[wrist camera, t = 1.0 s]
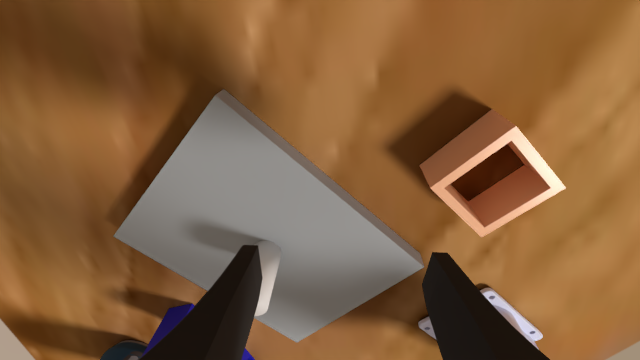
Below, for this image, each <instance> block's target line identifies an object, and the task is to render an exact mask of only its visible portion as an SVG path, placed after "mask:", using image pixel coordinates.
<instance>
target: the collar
mask: <svg viewBox="0 0 640 360" xmlns="http://www.w3.org/2000/svg"><path fill="white" fill-rule="evenodd" d="M506 144H508V145H509V147H510V148H511V149H512V150H513V151H514V153H515V154H516V155H517V156H518V157H519V159H520V160H521V161H522V162H523V163H524V164H525V165H523V166H522V167H520V168H519V169H517V170H516V171H514V172H513V173H511V174H510V175H508V176H507V177H505V178H503V179H502V180H500V181H499V182H497V183H496V184H494V185H493V186H491V187H490V188H488V189H487V190H485V191H484V192H482V193H481V194H479V195H478V196H476V197H474V198H473V199H471V200H470V201H467V200H466V199H465V198H464V197H463V196H462V195H461V194H460V193H459V192H458V191H457V190H456V189H455V188H454V187H453V186H452V185H451V183H452V182H453V181H455V180H456V179H458V178H459V177H460V176H462V175H463V174H465V173H466V172H468V171H469V170H470V169H472V168H473V167H475V166H476V165H478V164H479V163H480V162H482V161H483V160H485V159H486V158H487V157H489V156H490V155H492V154H493V153H495V152H496V151H497V150H499V149H500V148H502V147H503V146H505V145H506ZM419 166H420V168H421V170H422V172H423V174H424V176H425V178H426V180H427V182H428V185H429V187H430V188H431V189H432V190H433V191H434V192H435V193H436V194H437V195H438V196H439V197H440V198H441V199H442V200H443V201H444V202H445V203H446V204H447V205H448V206H449V207H450V208H451V209H452V210H454V211H455V212H456V213H457V214H458V215H459V216H460V217H461V218H462V219H463V220H464V221H465V222H466V223H467V224H468V225H469V226H470V227H471V228H472V229H473V230H474V231H475V232H476V233H477V234H478V235H480V236H481V237H483V236H485V235H486V234H488V233H490V232H492V231H493V230H495V229H497V228H498V227H500V226H502V225H504V224H505V223H507V222H509V221H510V220H512V219H514V218H516V217H517V216H519V215H521V214H522V213H524V212H526V211H527V210H529V209H531V208H533V207H534V206H536V205H538V204H539V203H541V202H543V201H545V200H546V199H548V198H550V197H551V196H553V195H555V194H557V193H558V192H560V191H562V190H563V189H565V188H566V187H565V186H564V185H563V184H562V182H561V181H560V180H559V179H558V177H557V176H556V175H555V174H554V172H553V171H552V170H551V169H550V167H549V166H548V165H547V164H546V162H545V161H544V160H543V159H542V157H541V156H540V155H539V154H538V152H537V151H536V150H535V149H534V148H533V146H532V145H531V144H530V143H529V141H528V140H527V139H526V138H525V136H524V135H523V134H522V133H521V131H520V130H519V129H518V128H517V126H515V125H514V124H513V123H511V122H510V121H508V120H507V119H506V118H504V117H503V116H501V115H500V114H498V113H497V112H496V111H494V110H493V109H491V110H490V111H489V112H488V113H486V114H485V115H484V116H482V117H481V118H480V119H479V120H477V121H476V122H475V123H473V124H472V125H471V126H469V127H468V128H467V129H466V130H464V131H463V132H462V133H460V134H459V135H458V136H457V137H455V138H454V139H453V140H451V141H450V142H449V143H448V144H446V145H445V146H444V147H442V148H441V149H440V150H438V151H437V152H436V153H435V154H433V155H432V156H431V157H429V158H428V159H427V160H426V161H424V162H423V163H422V164H420V165H419Z"/></svg>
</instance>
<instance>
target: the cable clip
mask: <svg viewBox="0 0 640 360" xmlns="http://www.w3.org/2000/svg"><path fill="white" fill-rule="evenodd" d="M193 308H194V305H193V304H187V305H183V306H178V307H173V308H169V309H168V311H167V313H166V315H165V316H164V318H163V320H162V322H161V323H160V325H159V327H158V329H157V330H156V332H155V334H154V336H153V337H152V339H151V341H150V343H149V344H148V346H147V348H146V350H145V351H144V353H143V355H145V354H146V353H147V352H148V351H149V350H150V349H152V348H153V347H154V346H155V345H156V344H157V343H158V342H159V341H160V340H161V339H162V338H164V337H165V336H166V335H167V334H168V333H169V332H170V331H171V330H172V329H173V328H174V327H175V326H176V325H177V324H178V323H179V322H180V321H181V320H182V319H183V318H184V317H185V316H186V315H187V314H188V313H189V312H190V311H191V310H192V309H193ZM143 355H142V356H143ZM242 360H255V359H254V358H253V357H252V356H251V355H250V353H249V352H248V351H247V350H246V349H244V353H243V356H242Z"/></svg>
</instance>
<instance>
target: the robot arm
mask: <svg viewBox="0 0 640 360" xmlns="http://www.w3.org/2000/svg"><path fill="white" fill-rule="evenodd" d="M262 278H263V277H262V270H261V263H260V255H259V248H258V245H243V246H242V247H241V248H240V249H239V251H238V252H237V254H236V255H235V257H234V258H233V259H232V261H231V262H230V264H229V265H228V266H227V268H226V269H225V270H224V272H223V273H222V274H221V275H220V277H219V278H218V279H217V281H216V282H215V283H214V284H213V286H212V287H211V288H210V289H209V290H208V292H207V293H206V294H205V295H204V296H203V297H202V298H201V300H200V301H199V302H198V303H197V304H196V305H195V306H194V308H193V309H192V310H191V311H190V312H189V313H188V314H187V315H186V316H185V317H184V318H183V319H182V320H181V321H180V322H179V323H178V324H177V325H176V326H175V327H174V328H173V329H172V330H171V331H170V332H169V333H168V334H167V335H166V336H165V337H164V338H162V339H161V340H160V341H159V342H158V343H157V344H156V345H155V346H154V347H153V348H152V349H150V350H149V351H148V352H147V353H146V354H145V355H143V356H142V357H141V358H140V359H139V360H242V356H243V353H244V349H245V346H246V343H247V339H248V336H249V332H250V329H251V326H252V322H253V319H254V315H255V312H256V308H257V305H258V301H259V296H260V290H261V284H262ZM422 287H423V292H424V298H425V303H426V307H427V311H428V314H429V317H427V318H425V319H423V320H421V321H419V322H418V325H419V328H420V329H422V330H423V331H425V332H426V333H427V334H429V335H430V336H432V337H433V338H434V339H436V340H437V343H438V346H439V349H440V352H441V355H442V358H443V360H550V359H549V358H548V357H546V356H545V355H544V354H543V353H542V352H541V351H539V349H538V347H537V345H536V344H535V342H534V341H537V340H539V339H542V337H543V335H542V333H541V332H540V331H539V330H538V329H537V328H536V327H535V326H534V325H532V324H531V323H530V322H529V321H528V320H527V319H526V318H525V317H523V316H522V315H521V314H520V313H519V312H518V311H517V310H515V309H514V308H513V307H512V306H511V305H510V304H509V303H508V302H506V301H505V300H504V299H503V298H502V297H501V296H500V295H499V294H497V293H496V292H495V291H494V290H493V289H491V288H484V289H482V290H480V291H479V289H478V288H477V287H476V286H475V285H474V284H473V283H472V281H471V280H470V279H469V278H468V277H467V275H466V274H465V273H464V272H463V271H462V270H461V268H460V267H459V266H458V265H457V264H456V262H455V261H454V260H453V259H452V258H451V256H450V255H449V254H448V253H437V252H432V255H431V258H430V261H429V265H428V268H427V271H426V274H425V277H424V280H423V283H422Z"/></svg>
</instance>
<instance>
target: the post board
mask: <svg viewBox="0 0 640 360" xmlns="http://www.w3.org/2000/svg"><path fill="white" fill-rule="evenodd" d="M114 237H115V238H117V239H119V240H120V241H122V242H124V243H126V244H127V245H129V246H131V247H133V248H134V249H136V250H138V251H139V252H141V253H143V254H145V255H146V256H148V257H150V258H152V259H153V260H155V261H157V262H158V263H160V264H162V265H164V266H165V267H167V268H169V269H171V270H172V271H174V272H176V273H178V274H179V275H181V276H183V277H184V278H186V279H188V280H190V281H191V282H193V283H195V284H197V285H198V286H200V287H202V288H203V289H205V290H207V291H208V290H209V289H210V288H211V287H212V286H213V284H214V283H215V282H216V281H217V279H218V278H219V277H220V275H221V274H222V273H223V272H224V270H225V269H226V268H227V266H228V265H229V264H230V262H231V261H232V259H233V258H234V257H235V255H236V254H237V252H238V251H239V249H240V248H241V247H242V246H243V245H258V248H259V255H260V263H261V270H262V277H263V278H262V284H261V290H260V296H259V301H258V305H257V308H256V312H255V315H254V318H255V319H257V320H259V321H261V322H262V323H264V324H266V325H267V326H269V327H271V328H273V329H274V330H276V331H278V332H280V333H281V334H283V335H285V336H286V337H288V338H290V339H292V340H293V341H295V342H299V341H300V340H302V339H304V338H305V337H307V336H309V335H310V334H312V333H314V332H316V331H317V330H319V329H321V328H322V327H324V326H326V325H327V324H329V323H331V322H332V321H334V320H336V319H338V318H339V317H341V316H343V315H344V314H346V313H348V312H349V311H351V310H353V309H354V308H356V307H358V306H359V305H361V304H363V303H365V302H366V301H368V300H370V299H371V298H373V297H375V296H376V295H378V294H380V293H381V292H383V291H385V290H386V289H388V288H390V287H392V286H393V285H395V284H397V283H398V282H400V281H402V280H403V279H405V278H407V277H408V276H410V275H412V274H413V273H415V272H417V271H419V270H420V269H422V268H424V264H423V261H422V258H421V255H420V253H419V252H418V251H416V250H415V249H414V248H413V247H412V246H410V245H409V244H408V243H407V242H406V241H405V240H403V239H402V238H401V237H400V236H399V235H397V234H396V233H395V232H394V231H393V230H391V229H390V228H389V227H388V226H387V225H385V224H384V223H383V222H382V221H381V220H380V219H378V218H377V217H376V216H375V215H374V214H372V213H371V212H370V211H369V210H368V209H366V208H365V207H364V206H363V205H362V204H360V203H359V202H358V201H357V200H356V199H354V198H353V197H352V196H351V195H350V194H349V193H347V192H346V191H345V190H344V189H343V188H341V187H340V186H339V185H338V184H337V183H335V182H334V181H333V180H332V179H331V178H329V177H328V176H327V175H326V174H325V173H323V172H322V171H321V170H320V169H319V168H318V167H316V166H315V165H314V164H313V163H312V162H310V161H309V160H308V159H307V158H306V157H304V156H303V155H302V154H301V153H300V152H298V151H297V150H296V149H295V148H294V147H293V146H291V145H290V144H289V143H288V142H287V141H285V140H284V139H283V138H282V137H281V136H279V135H278V134H277V133H276V132H275V131H273V130H272V129H271V128H270V127H269V126H267V125H266V124H265V123H264V122H263V121H262V120H260V119H259V118H258V117H257V116H256V115H254V114H253V113H252V112H251V111H250V110H248V109H247V108H246V107H245V106H244V105H242V104H241V103H240V102H239V101H238V100H237V99H235V98H234V97H233V96H232V95H231V94H229V93H228V92H227V91H226V90H225V89H223V90H222V91H220V92H219V93H217V94H216V95H215V96H214V97H213V99H212V100H211V101H210V103H209V104H208V106H207V107H206V108H205V110H204V111H203V113H202V114H201V115H200V117H199V118H198V119H197V121H196V122H195V124H194V125H193V126H192V128H191V129H190V131H189V132H188V133H187V135H186V136H185V138H184V139H183V140H182V142H181V143H180V144H179V146H178V147H177V149H176V150H175V151H174V153H173V154H172V156H171V157H170V158H169V160H168V161H167V162H166V164H165V165H164V167H163V168H162V169H161V171H160V172H159V174H158V175H157V176H156V178H155V179H154V180H153V182H152V183H151V185H150V186H149V187H148V189H147V190H146V192H145V193H144V194H143V196H142V197H141V198H140V200H139V201H138V203H137V204H136V205H135V207H134V208H133V210H132V211H131V212H130V214H129V215H128V216H127V218H126V219H125V221H124V222H123V223H122V225H121V226H120V228H119V229H118V230H117V232H116V233H115V235H114Z"/></svg>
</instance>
